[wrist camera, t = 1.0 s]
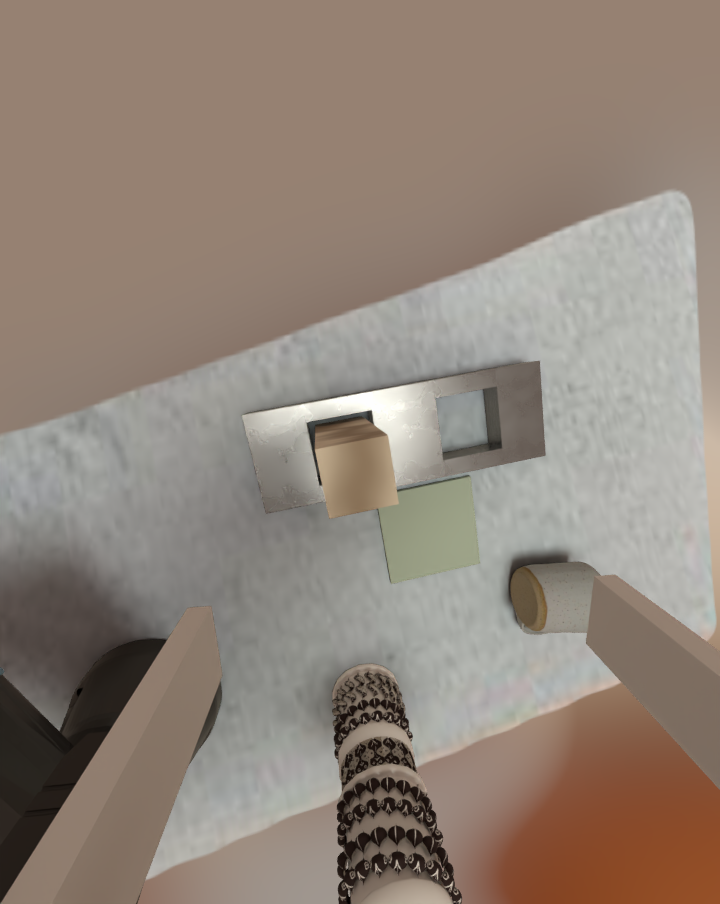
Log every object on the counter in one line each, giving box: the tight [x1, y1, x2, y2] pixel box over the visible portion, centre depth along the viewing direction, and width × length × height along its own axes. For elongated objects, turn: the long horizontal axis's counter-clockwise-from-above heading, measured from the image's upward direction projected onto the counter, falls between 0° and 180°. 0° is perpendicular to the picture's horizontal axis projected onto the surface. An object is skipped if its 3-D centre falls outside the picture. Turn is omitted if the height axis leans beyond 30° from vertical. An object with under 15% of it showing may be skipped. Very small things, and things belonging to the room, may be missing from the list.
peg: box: [315, 416, 399, 519], centre depth 31 cm, size 5×5×14 cm
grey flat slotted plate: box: [242, 361, 545, 514], centre depth 36 cm, size 30×10×3 cm, turn 100°
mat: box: [378, 475, 480, 584], centre depth 40 cm, size 11×11×1 cm
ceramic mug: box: [510, 562, 601, 635], centre depth 41 cm, size 11×8×8 cm
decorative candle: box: [332, 663, 462, 904], centre depth 32 cm, size 9×9×25 cm
